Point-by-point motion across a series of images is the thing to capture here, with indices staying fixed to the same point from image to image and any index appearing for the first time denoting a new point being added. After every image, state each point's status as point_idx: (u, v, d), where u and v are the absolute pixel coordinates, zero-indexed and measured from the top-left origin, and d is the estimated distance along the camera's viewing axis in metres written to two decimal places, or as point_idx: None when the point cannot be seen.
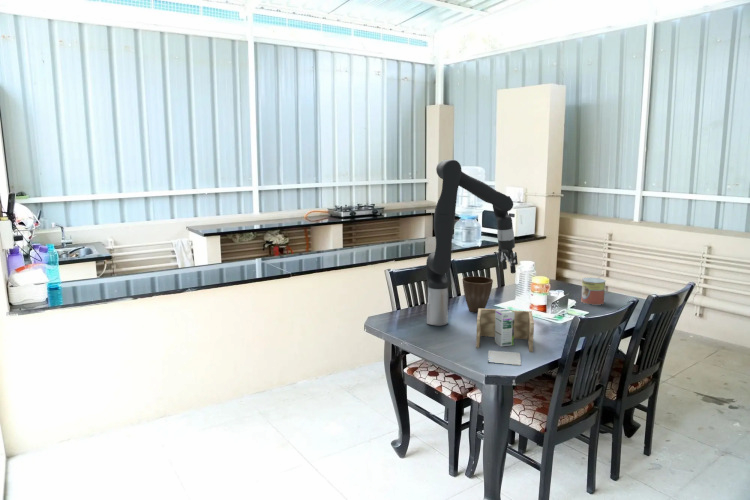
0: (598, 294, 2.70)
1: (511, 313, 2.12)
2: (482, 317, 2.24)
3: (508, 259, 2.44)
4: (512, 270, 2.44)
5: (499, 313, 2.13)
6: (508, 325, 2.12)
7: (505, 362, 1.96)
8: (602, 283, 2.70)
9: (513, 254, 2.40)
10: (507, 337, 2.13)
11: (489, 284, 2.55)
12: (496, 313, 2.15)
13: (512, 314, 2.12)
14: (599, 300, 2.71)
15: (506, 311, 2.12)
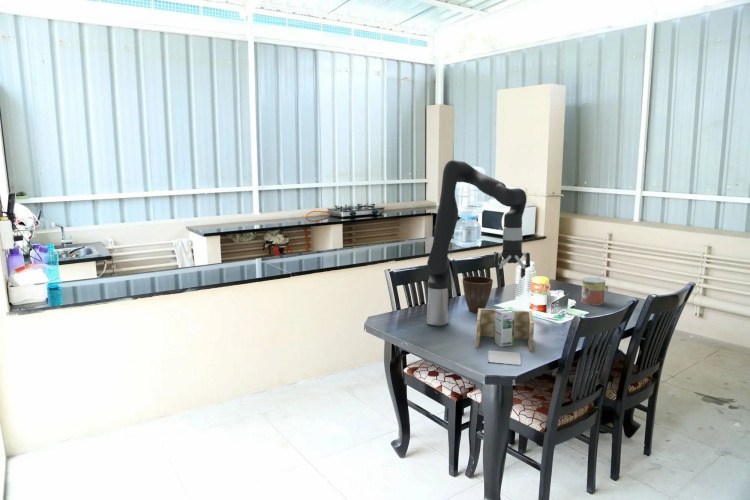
0: (598, 294, 2.70)
1: (511, 313, 2.12)
2: (482, 317, 2.24)
3: None
4: None
5: (499, 313, 2.13)
6: (508, 325, 2.12)
7: (505, 362, 1.96)
8: (602, 283, 2.70)
9: (494, 254, 2.13)
10: (507, 337, 2.13)
11: (489, 284, 2.55)
12: (496, 313, 2.15)
13: (512, 314, 2.12)
14: (599, 300, 2.71)
15: (506, 311, 2.12)
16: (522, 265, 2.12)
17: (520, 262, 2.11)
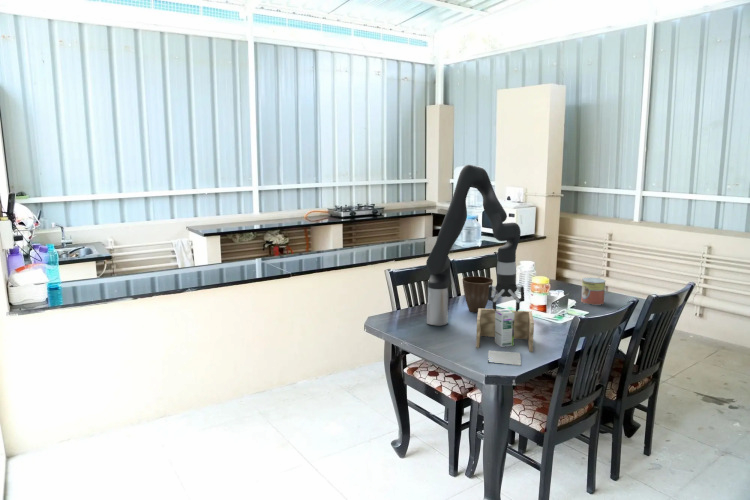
0: (598, 294, 2.70)
1: (511, 313, 2.12)
2: (482, 317, 2.24)
3: None
4: None
5: (499, 313, 2.13)
6: (508, 326, 2.12)
7: (505, 362, 1.96)
8: (602, 283, 2.70)
9: (489, 287, 2.14)
10: (507, 337, 2.13)
11: (489, 284, 2.55)
12: (496, 313, 2.15)
13: (512, 314, 2.12)
14: (599, 300, 2.71)
15: (506, 311, 2.12)
16: (516, 299, 2.11)
17: (514, 296, 2.11)
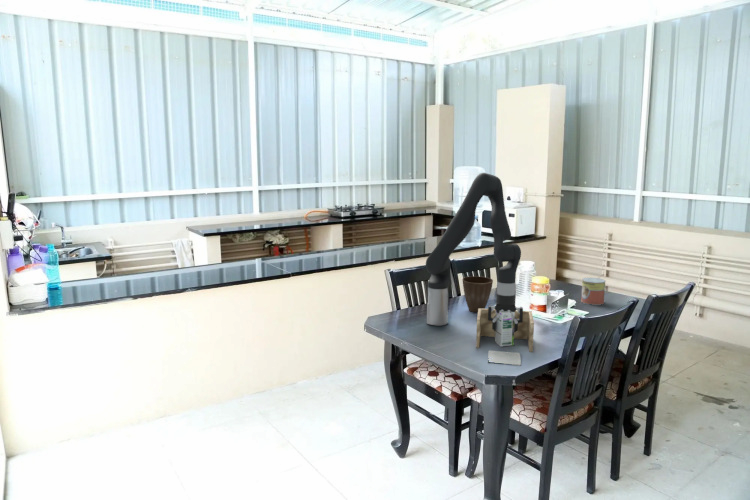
0: (598, 294, 2.70)
1: (512, 313, 2.12)
2: (482, 317, 2.24)
3: None
4: None
5: None
6: (508, 325, 2.12)
7: (505, 362, 1.96)
8: (602, 283, 2.70)
9: (488, 307, 2.16)
10: (507, 336, 2.13)
11: (489, 284, 2.55)
12: (496, 313, 2.15)
13: None
14: (599, 300, 2.71)
15: (506, 311, 2.12)
16: (514, 320, 2.12)
17: (512, 317, 2.12)
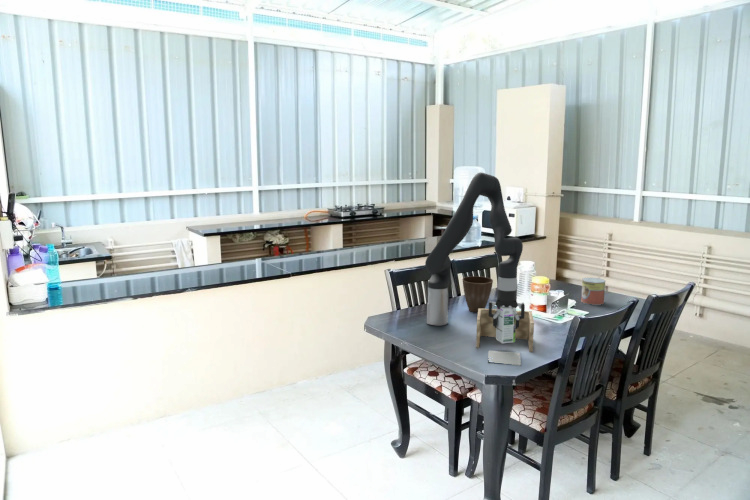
0: (598, 294, 2.70)
1: None
2: (482, 317, 2.24)
3: None
4: None
5: None
6: (510, 321, 2.06)
7: (505, 362, 1.96)
8: (602, 283, 2.70)
9: None
10: (508, 333, 2.06)
11: (489, 284, 2.55)
12: (497, 309, 2.09)
13: (514, 310, 2.05)
14: (599, 300, 2.71)
15: (507, 307, 2.06)
16: (516, 316, 2.06)
17: (514, 313, 2.05)
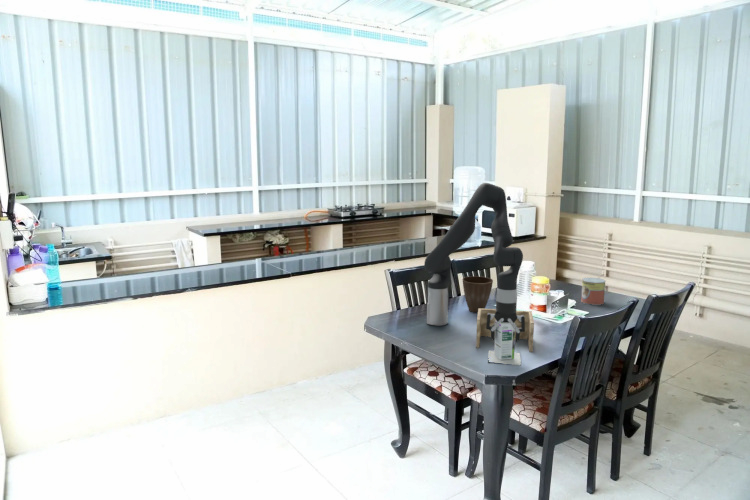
0: (598, 294, 2.70)
1: None
2: (482, 317, 2.24)
3: None
4: None
5: None
6: (508, 337, 1.97)
7: (505, 362, 1.96)
8: (602, 283, 2.70)
9: (487, 315, 2.00)
10: (507, 349, 1.98)
11: (489, 284, 2.55)
12: None
13: (513, 325, 1.97)
14: (599, 300, 2.71)
15: (506, 322, 1.97)
16: (516, 329, 1.97)
17: (514, 326, 1.96)
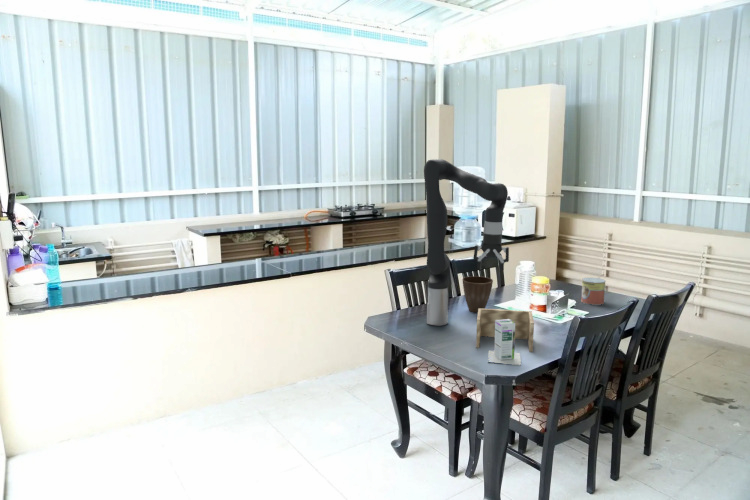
0: (598, 294, 2.70)
1: (512, 324, 1.96)
2: (482, 317, 2.24)
3: (482, 253, 2.19)
4: None
5: (498, 324, 1.98)
6: (508, 337, 1.97)
7: (505, 362, 1.96)
8: (602, 283, 2.70)
9: (475, 246, 2.18)
10: (507, 349, 1.98)
11: (489, 284, 2.55)
12: (496, 324, 2.00)
13: (513, 325, 1.97)
14: (599, 300, 2.71)
15: (506, 322, 1.97)
16: (501, 259, 2.15)
17: (498, 256, 2.14)
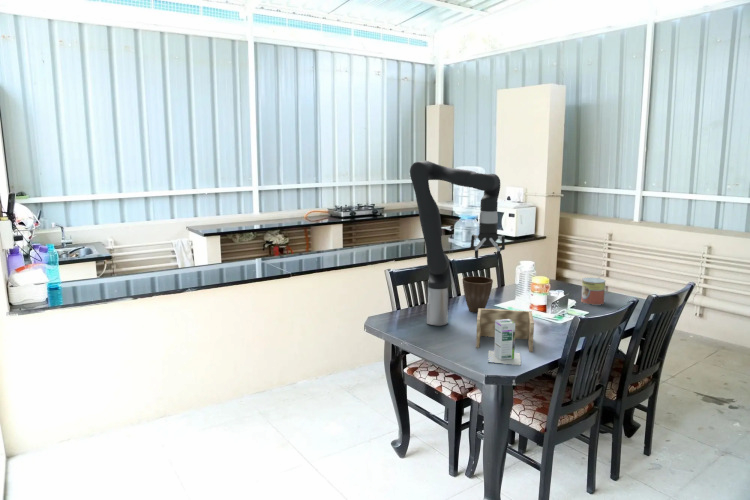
0: (598, 294, 2.70)
1: (512, 324, 1.96)
2: (482, 317, 2.24)
3: (479, 242, 2.25)
4: None
5: (498, 324, 1.98)
6: (508, 337, 1.97)
7: (505, 362, 1.96)
8: (602, 283, 2.70)
9: None
10: (507, 349, 1.98)
11: (489, 284, 2.55)
12: (496, 324, 2.00)
13: (513, 325, 1.97)
14: (599, 300, 2.71)
15: (506, 322, 1.97)
16: (497, 248, 2.21)
17: (495, 245, 2.20)
